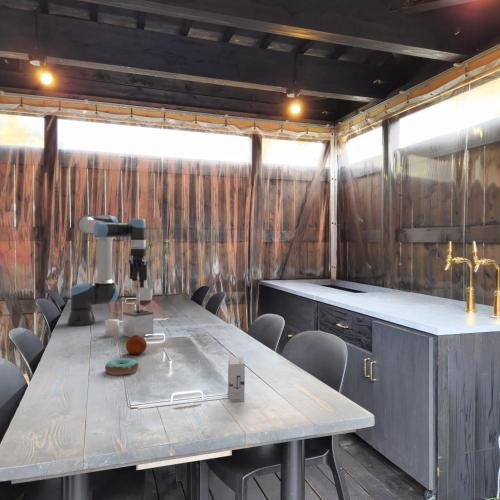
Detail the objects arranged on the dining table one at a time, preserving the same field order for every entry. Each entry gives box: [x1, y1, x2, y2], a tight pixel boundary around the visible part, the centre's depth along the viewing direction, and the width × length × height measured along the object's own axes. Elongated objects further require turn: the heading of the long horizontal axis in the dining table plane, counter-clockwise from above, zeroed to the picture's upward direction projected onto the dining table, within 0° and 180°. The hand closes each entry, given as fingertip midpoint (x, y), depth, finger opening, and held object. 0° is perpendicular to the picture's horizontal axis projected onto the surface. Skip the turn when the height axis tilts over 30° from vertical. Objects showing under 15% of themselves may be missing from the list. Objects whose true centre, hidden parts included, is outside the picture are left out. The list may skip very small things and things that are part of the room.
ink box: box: [227, 356, 246, 403], centre depth 134 cm, size 9×5×12 cm, turn 5°
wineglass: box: [135, 287, 154, 311], centre depth 241 cm, size 9×10×22 cm
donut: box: [104, 357, 139, 376], centre depth 160 cm, size 12×12×4 cm
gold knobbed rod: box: [134, 279, 141, 313], centre depth 222 cm, size 7×7×19 cm
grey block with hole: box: [122, 309, 154, 338], centre depth 222 cm, size 11×11×12 cm
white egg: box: [104, 318, 120, 338], centre depth 222 cm, size 7×7×8 cm
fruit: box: [125, 335, 147, 355], centre depth 185 cm, size 9×9×8 cm
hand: (138, 293), depth 221 cm, fingers closed on gold knobbed rod, 4 cm apart
